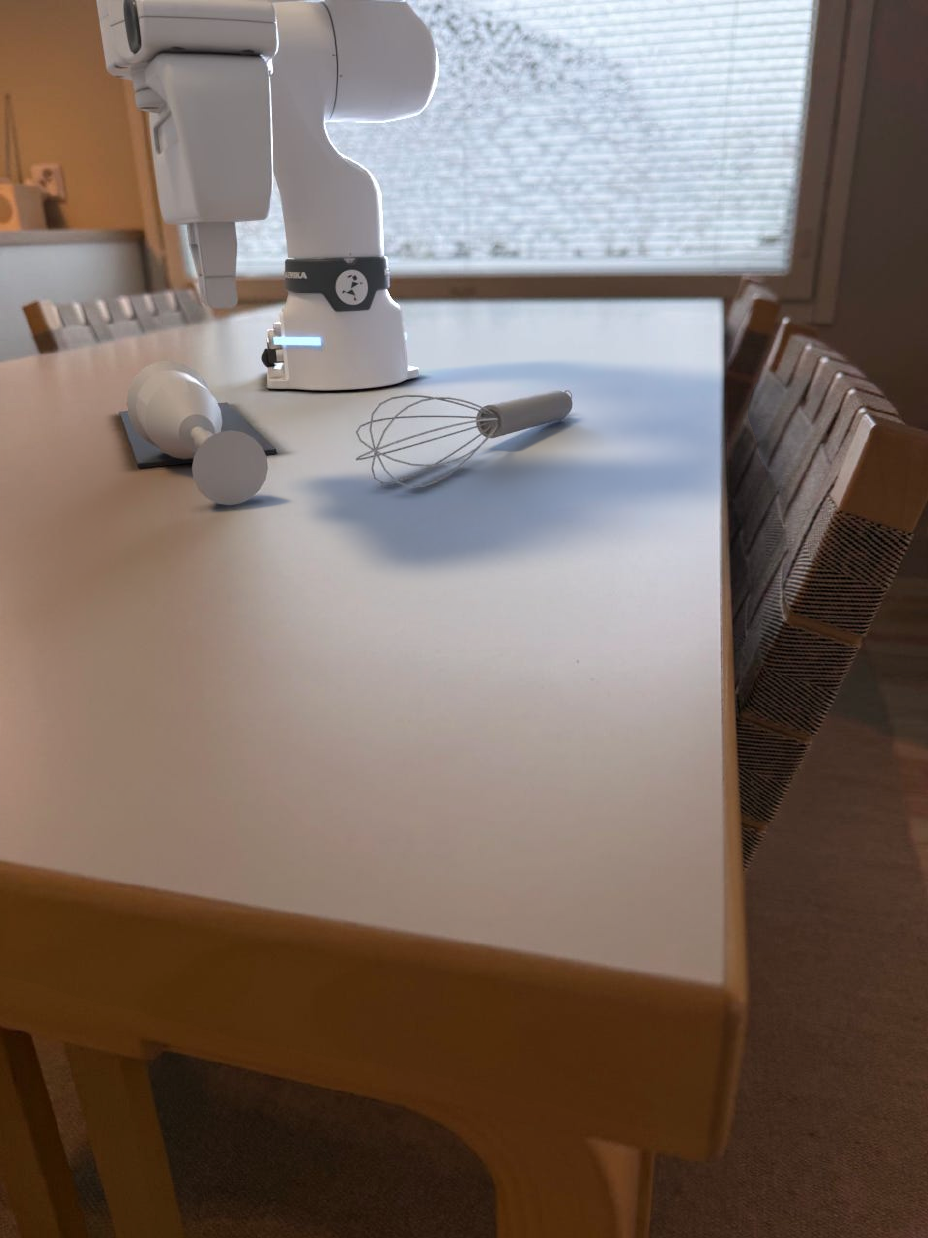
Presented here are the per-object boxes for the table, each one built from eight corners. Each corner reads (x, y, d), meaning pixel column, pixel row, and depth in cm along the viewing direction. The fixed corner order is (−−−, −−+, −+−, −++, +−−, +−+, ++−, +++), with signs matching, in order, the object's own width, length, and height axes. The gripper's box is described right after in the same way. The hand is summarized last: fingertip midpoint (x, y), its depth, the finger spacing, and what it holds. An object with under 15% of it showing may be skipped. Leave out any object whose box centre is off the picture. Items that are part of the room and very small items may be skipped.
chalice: (196, 533, 62) (143, 459, 76) (291, 502, 64) (223, 436, 78) (163, 430, 58) (114, 372, 72) (265, 401, 60) (198, 350, 74)
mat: (119, 415, 95) (119, 411, 95) (227, 405, 99) (227, 402, 99) (138, 468, 73) (137, 463, 73) (276, 453, 76) (276, 448, 76)
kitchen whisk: (599, 416, 88) (601, 347, 86) (415, 508, 61) (410, 412, 58) (540, 412, 91) (540, 345, 88) (339, 498, 64) (332, 406, 61)
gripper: (116, 66, 58) (150, 299, 63) (140, -7, 40) (185, 323, 46) (218, 69, 60) (243, 294, 65) (283, 1, 42) (310, 316, 48)
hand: (219, 306), depth 55 cm, fingers closed
